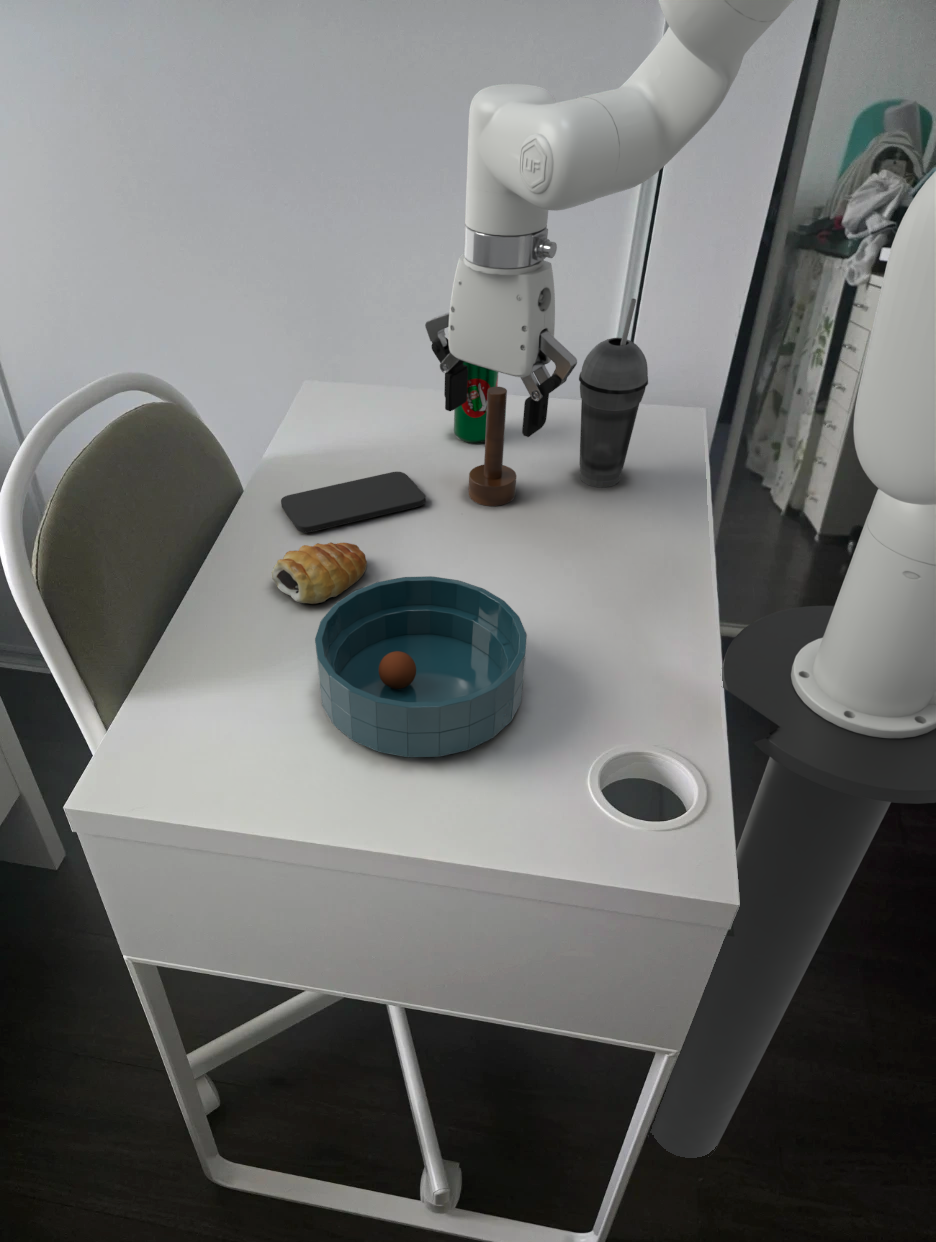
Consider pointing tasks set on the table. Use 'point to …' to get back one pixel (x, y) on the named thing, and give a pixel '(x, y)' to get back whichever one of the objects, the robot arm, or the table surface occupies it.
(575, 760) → the table surface
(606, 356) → the beverage cup
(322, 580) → the pastry
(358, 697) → the bowl
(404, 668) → the meatball
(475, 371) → the soda can
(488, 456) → the wooden knob stand
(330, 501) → the phone
